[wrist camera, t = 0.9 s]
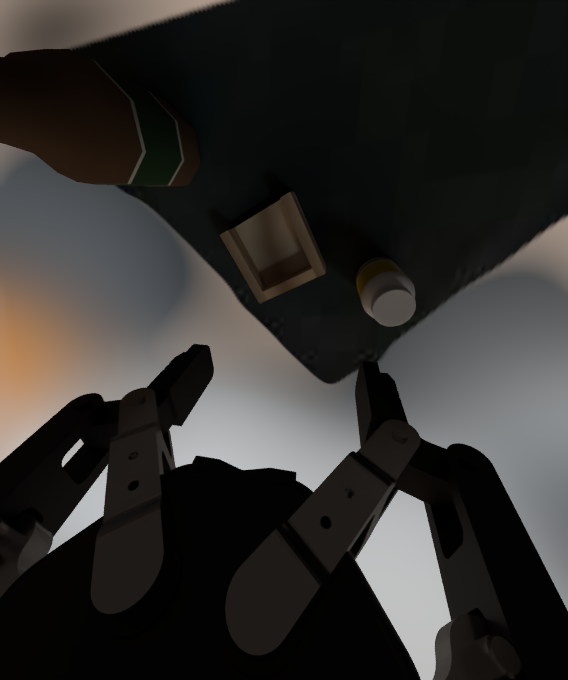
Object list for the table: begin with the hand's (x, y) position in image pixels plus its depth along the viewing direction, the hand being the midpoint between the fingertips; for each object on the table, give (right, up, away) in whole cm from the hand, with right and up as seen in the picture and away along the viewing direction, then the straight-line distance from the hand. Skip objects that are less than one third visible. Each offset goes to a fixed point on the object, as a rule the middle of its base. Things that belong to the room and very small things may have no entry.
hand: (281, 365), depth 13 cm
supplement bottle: (+12, +10, +19) cm, 25 cm away
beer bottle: (-13, +23, +15) cm, 31 cm away
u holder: (-1, +13, +19) cm, 23 cm away
